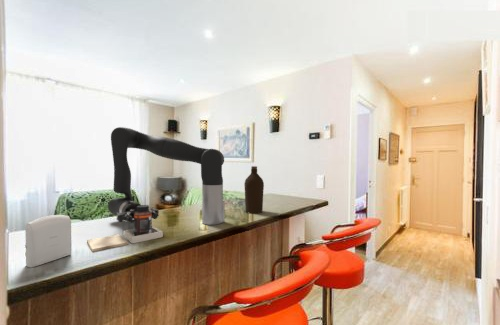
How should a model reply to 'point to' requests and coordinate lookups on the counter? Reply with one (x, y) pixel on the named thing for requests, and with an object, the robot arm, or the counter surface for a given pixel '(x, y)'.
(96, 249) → the pad
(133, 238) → the white square tray
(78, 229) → the counter surface
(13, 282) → the counter surface
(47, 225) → the photo printer
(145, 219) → the supplement bottle
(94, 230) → the counter surface
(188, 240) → the counter surface
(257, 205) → the olive oil
